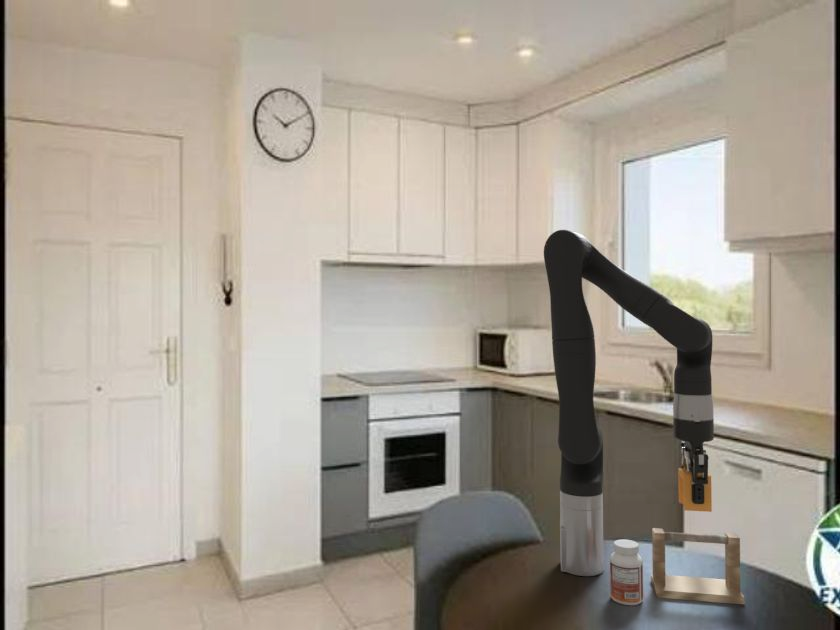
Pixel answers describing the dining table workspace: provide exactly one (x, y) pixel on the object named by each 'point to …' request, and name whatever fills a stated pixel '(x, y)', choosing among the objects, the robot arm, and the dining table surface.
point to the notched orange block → (686, 492)
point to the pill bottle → (626, 573)
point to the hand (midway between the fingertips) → (694, 498)
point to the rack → (697, 586)
